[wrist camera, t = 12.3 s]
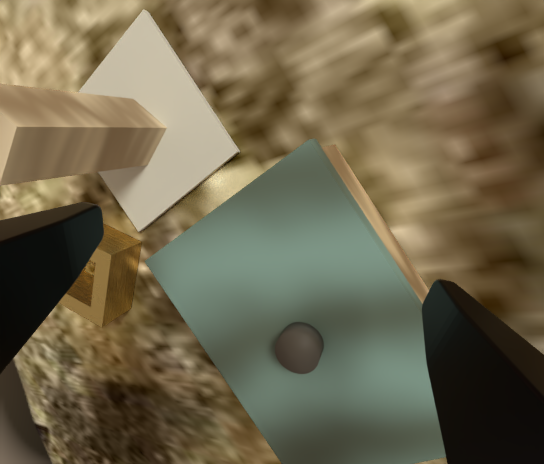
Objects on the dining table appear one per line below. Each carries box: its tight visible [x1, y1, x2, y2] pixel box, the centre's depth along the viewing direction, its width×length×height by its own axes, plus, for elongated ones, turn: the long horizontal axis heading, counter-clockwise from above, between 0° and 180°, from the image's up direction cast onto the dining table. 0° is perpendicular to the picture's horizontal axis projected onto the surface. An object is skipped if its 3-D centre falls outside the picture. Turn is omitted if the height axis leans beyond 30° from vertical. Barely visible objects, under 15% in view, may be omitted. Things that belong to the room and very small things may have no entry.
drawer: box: [145, 139, 446, 464], centre depth 18 cm, size 15×11×7 cm
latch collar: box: [59, 224, 142, 327], centre depth 26 cm, size 6×6×3 cm
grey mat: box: [78, 9, 240, 232], centre depth 23 cm, size 10×10×1 cm
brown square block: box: [0, 84, 167, 186], centre depth 19 cm, size 3×3×10 cm
